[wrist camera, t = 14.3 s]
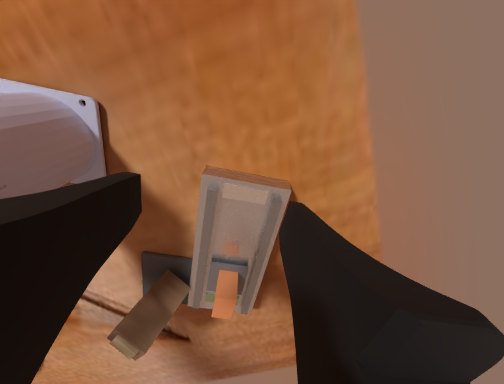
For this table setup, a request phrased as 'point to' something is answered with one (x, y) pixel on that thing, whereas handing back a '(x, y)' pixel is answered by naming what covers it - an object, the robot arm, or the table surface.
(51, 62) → the table surface
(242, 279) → the lever
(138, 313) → the brown rectangular block
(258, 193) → the breaker panel
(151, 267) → the rubber pad
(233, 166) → the table surface
